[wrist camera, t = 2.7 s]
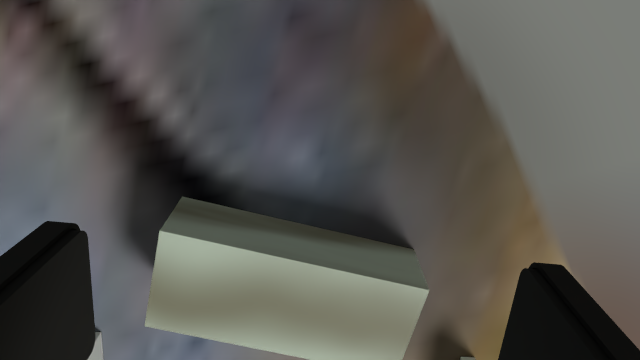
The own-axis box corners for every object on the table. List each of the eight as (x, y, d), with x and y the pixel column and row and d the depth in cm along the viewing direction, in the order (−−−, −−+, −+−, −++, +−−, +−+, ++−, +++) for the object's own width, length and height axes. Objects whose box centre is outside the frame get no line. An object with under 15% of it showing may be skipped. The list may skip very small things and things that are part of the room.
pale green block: (183, 194, 25) (159, 230, 21) (412, 247, 26) (429, 290, 22) (169, 278, 26) (144, 325, 22) (384, 324, 27) (395, 376, 24)
